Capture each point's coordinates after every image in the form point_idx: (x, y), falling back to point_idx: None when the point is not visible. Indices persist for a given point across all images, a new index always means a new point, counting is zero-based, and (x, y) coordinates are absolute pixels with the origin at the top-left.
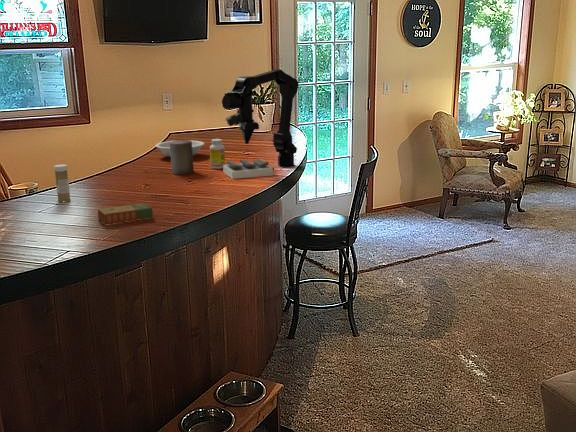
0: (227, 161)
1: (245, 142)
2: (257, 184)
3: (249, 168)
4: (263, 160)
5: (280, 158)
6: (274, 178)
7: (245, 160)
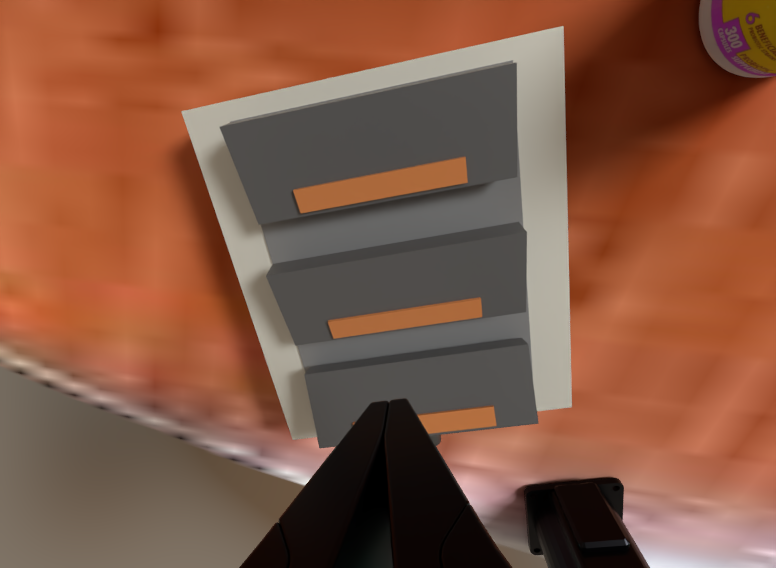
0: (480, 69)
1: (369, 413)
2: (38, 284)
3: None
4: None
5: (573, 536)
6: (213, 400)
7: (513, 283)
